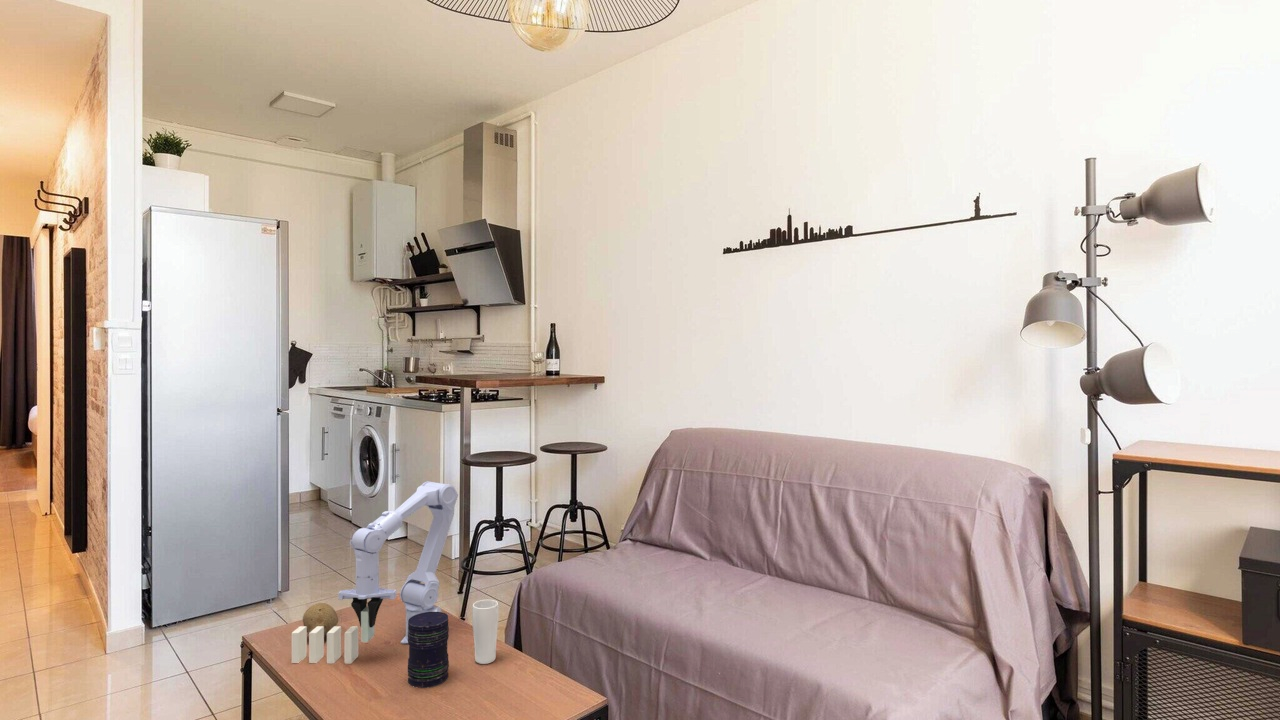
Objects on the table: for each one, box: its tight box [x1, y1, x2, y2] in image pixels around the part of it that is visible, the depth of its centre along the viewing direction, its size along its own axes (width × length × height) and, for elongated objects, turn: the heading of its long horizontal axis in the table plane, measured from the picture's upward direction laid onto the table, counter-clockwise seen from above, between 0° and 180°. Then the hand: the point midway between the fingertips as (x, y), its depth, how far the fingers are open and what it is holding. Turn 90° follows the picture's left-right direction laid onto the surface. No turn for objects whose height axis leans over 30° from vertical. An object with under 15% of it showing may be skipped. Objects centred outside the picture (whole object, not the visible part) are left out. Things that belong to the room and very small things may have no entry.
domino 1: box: [291, 625, 308, 664], centre depth 178 cm, size 2×4×8 cm, turn 0°
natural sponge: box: [302, 602, 339, 637], centre depth 192 cm, size 9×9×10 cm
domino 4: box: [343, 625, 359, 665], centre depth 178 cm, size 2×4×8 cm, turn 0°
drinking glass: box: [471, 599, 499, 665], centre depth 178 cm, size 7×7×15 cm
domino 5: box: [360, 605, 375, 643], centre depth 178 cm, size 2×4×8 cm, turn 1°
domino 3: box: [326, 625, 342, 664], centre depth 178 cm, size 2×4×8 cm, turn 0°
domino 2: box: [308, 626, 325, 664], centre depth 178 cm, size 2×4×8 cm, turn 0°
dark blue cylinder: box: [407, 611, 450, 689], centre depth 168 cm, size 10×10×15 cm
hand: (367, 625), depth 178 cm, fingers closed on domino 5, 2 cm apart
